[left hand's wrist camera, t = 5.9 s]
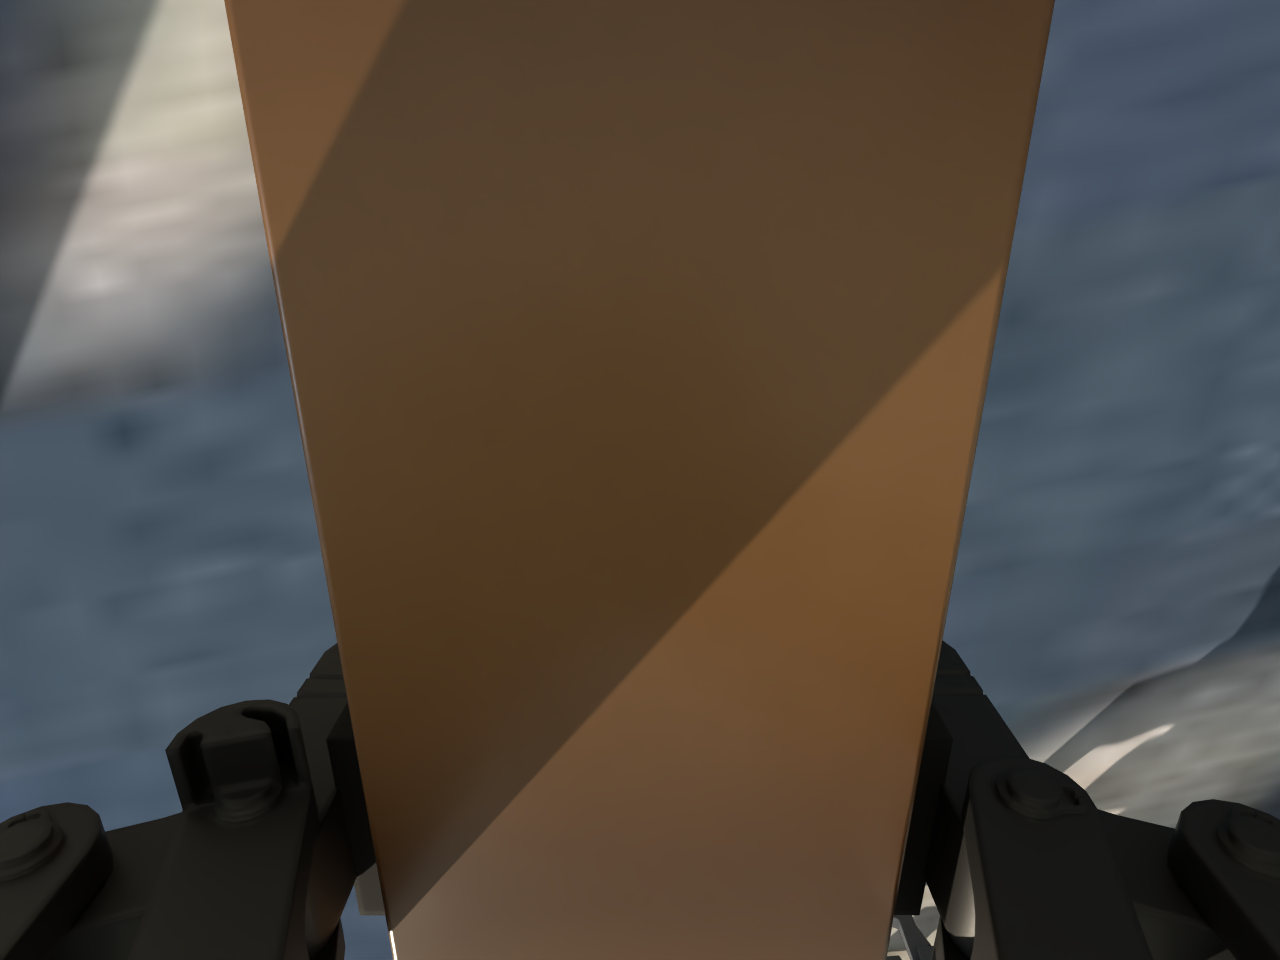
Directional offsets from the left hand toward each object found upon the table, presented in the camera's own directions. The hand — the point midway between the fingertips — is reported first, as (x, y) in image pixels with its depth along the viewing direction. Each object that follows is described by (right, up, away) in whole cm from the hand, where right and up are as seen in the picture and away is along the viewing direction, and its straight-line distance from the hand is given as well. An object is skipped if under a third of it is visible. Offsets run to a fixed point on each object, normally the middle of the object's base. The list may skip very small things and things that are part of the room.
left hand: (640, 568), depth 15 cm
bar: (0, +9, -3) cm, 10 cm away
